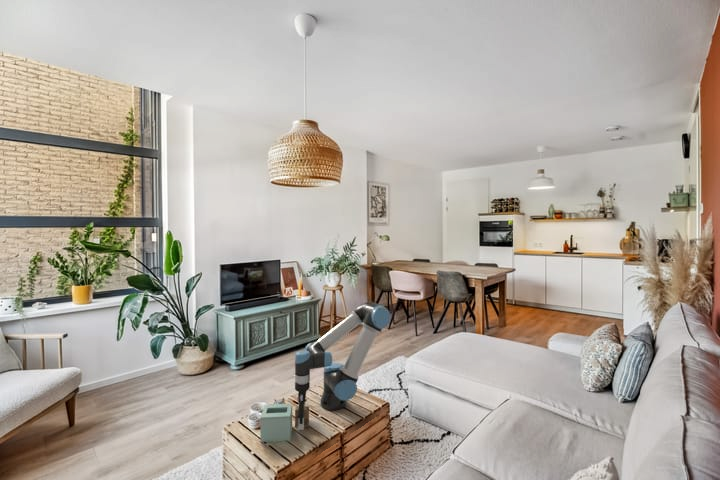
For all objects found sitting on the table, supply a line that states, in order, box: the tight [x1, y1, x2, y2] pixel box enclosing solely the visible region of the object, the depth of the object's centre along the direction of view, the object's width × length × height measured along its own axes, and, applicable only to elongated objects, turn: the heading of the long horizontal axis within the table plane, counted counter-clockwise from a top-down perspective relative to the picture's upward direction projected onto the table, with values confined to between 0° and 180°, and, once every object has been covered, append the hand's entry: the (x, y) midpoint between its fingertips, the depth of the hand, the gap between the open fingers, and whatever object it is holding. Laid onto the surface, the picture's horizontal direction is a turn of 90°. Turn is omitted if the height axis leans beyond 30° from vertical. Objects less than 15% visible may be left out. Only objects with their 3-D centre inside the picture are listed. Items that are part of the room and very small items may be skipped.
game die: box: [273, 397, 286, 404], centre depth 191 cm, size 9×8×10 cm
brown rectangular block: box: [294, 405, 310, 428], centre depth 181 cm, size 7×3×9 cm, turn 96°
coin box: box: [259, 402, 293, 443], centre depth 173 cm, size 14×12×12 cm
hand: (301, 421), depth 181 cm, fingers open, 13 cm apart
